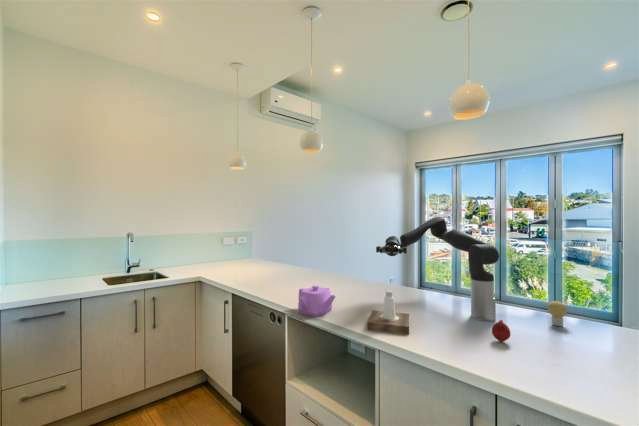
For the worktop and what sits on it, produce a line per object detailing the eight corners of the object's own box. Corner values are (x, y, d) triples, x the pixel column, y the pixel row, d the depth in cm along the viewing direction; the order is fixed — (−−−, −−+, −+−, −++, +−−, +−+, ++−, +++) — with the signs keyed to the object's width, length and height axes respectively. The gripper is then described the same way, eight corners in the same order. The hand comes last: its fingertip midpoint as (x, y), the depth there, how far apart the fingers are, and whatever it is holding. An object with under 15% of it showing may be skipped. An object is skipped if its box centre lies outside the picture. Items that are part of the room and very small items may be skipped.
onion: (510, 346, 100) (510, 324, 100) (491, 343, 103) (491, 320, 103) (510, 340, 105) (510, 319, 105) (491, 337, 108) (491, 316, 108)
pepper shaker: (381, 315, 123) (381, 289, 124) (394, 315, 123) (394, 289, 124) (384, 319, 118) (383, 292, 118) (397, 319, 118) (397, 292, 118)
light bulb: (548, 321, 125) (548, 298, 125) (568, 325, 121) (567, 301, 121) (546, 325, 121) (546, 301, 121) (566, 329, 116) (566, 304, 116)
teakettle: (328, 305, 148) (328, 281, 148) (336, 316, 131) (336, 289, 132) (296, 307, 145) (296, 282, 145) (299, 318, 128) (299, 291, 129)
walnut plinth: (409, 320, 126) (408, 313, 126) (409, 334, 111) (409, 326, 111) (372, 316, 131) (372, 309, 131) (367, 329, 115) (367, 321, 115)
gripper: (406, 255, 145) (406, 259, 130) (378, 254, 149) (374, 258, 134) (406, 241, 145) (406, 243, 130) (378, 240, 149) (374, 242, 134)
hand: (390, 251), depth 132 cm, fingers open, 8 cm apart
